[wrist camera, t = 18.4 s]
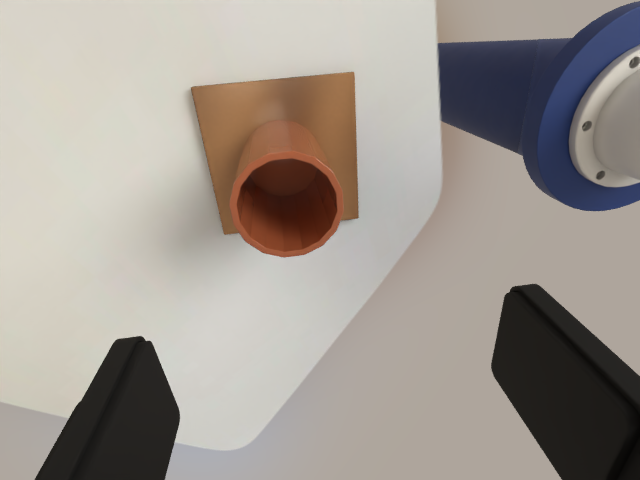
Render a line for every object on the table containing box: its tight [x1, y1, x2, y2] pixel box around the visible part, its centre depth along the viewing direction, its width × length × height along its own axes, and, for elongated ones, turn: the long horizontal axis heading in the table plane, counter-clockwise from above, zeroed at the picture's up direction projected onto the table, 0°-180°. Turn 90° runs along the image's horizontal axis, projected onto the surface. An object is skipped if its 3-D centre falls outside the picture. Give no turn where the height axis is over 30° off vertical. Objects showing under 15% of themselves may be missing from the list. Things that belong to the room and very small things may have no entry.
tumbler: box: [229, 120, 344, 257], centre depth 25 cm, size 6×6×10 cm
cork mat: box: [191, 72, 359, 234], centre depth 30 cm, size 12×12×1 cm
